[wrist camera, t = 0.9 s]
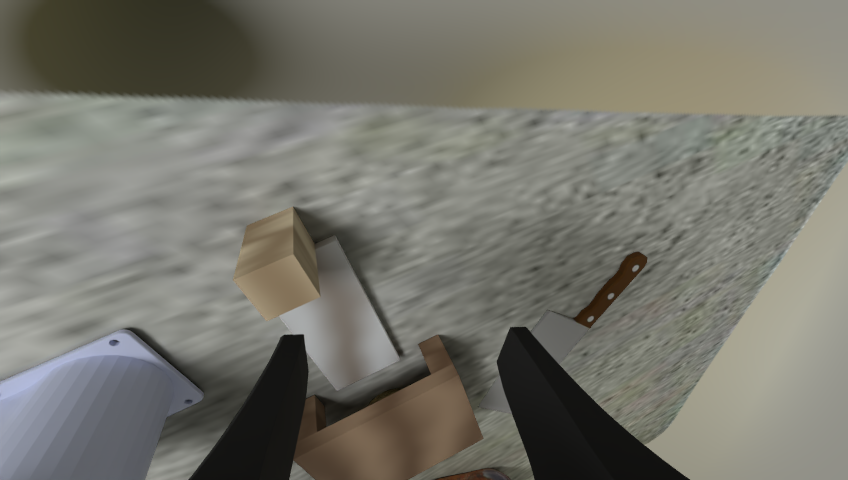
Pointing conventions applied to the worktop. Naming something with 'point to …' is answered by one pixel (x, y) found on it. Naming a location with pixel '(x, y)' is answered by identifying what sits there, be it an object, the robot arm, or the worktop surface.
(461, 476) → the tin
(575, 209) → the worktop surface
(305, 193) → the worktop surface
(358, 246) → the worktop surface
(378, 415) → the low shelf
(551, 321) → the kitchen knife
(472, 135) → the worktop surface
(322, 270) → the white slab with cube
